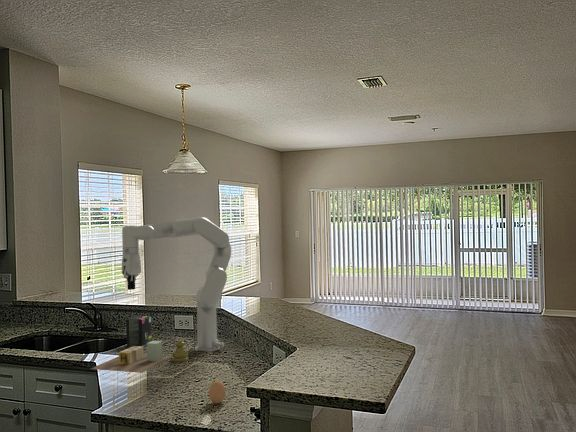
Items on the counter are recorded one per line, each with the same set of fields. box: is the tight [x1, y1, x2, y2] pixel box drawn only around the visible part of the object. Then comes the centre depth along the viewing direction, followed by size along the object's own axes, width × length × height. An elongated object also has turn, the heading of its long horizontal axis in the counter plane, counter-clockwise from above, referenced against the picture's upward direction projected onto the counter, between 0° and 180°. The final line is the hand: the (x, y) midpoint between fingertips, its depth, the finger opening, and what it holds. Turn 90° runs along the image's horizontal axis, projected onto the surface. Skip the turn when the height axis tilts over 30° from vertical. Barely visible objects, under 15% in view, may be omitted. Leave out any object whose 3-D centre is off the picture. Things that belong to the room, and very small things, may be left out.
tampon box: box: [125, 315, 153, 348], centre depth 279 cm, size 11×9×15 cm
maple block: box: [118, 346, 145, 364], centre depth 244 cm, size 5×5×12 cm
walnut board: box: [89, 353, 173, 374], centre depth 241 cm, size 26×28×1 cm
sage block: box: [146, 340, 163, 361], centre depth 245 cm, size 5×5×8 cm
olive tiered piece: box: [171, 340, 190, 363], centre depth 243 cm, size 7×8×10 cm
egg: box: [208, 380, 227, 404], centre depth 189 cm, size 6×6×8 cm
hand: (131, 289), depth 257 cm, fingers closed
